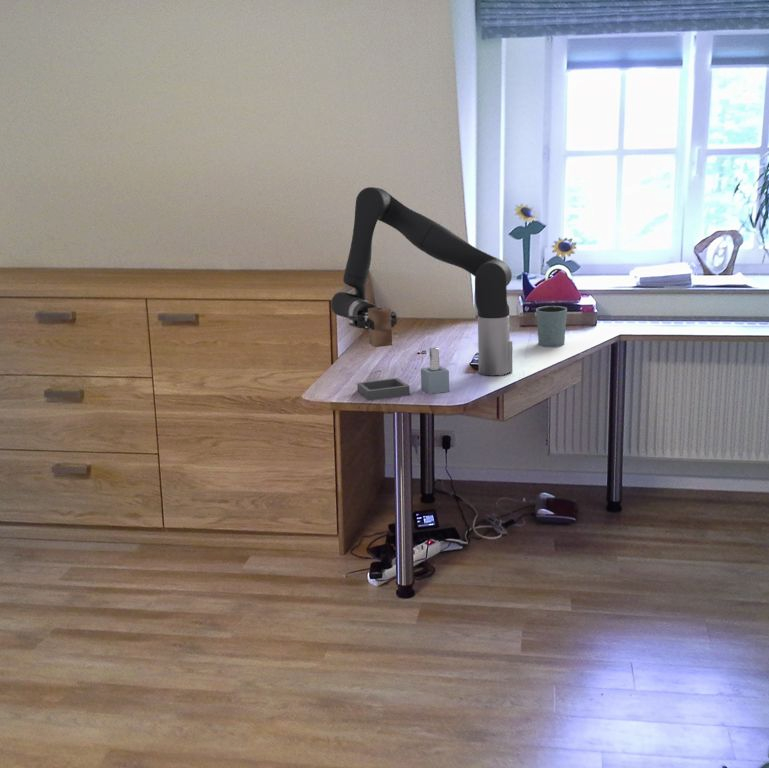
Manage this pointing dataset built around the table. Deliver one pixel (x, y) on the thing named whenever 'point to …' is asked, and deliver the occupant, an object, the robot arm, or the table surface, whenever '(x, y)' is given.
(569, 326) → the table surface
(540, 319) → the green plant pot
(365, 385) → the tray
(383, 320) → the walnut block
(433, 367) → the cylinder
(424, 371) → the square socket block
